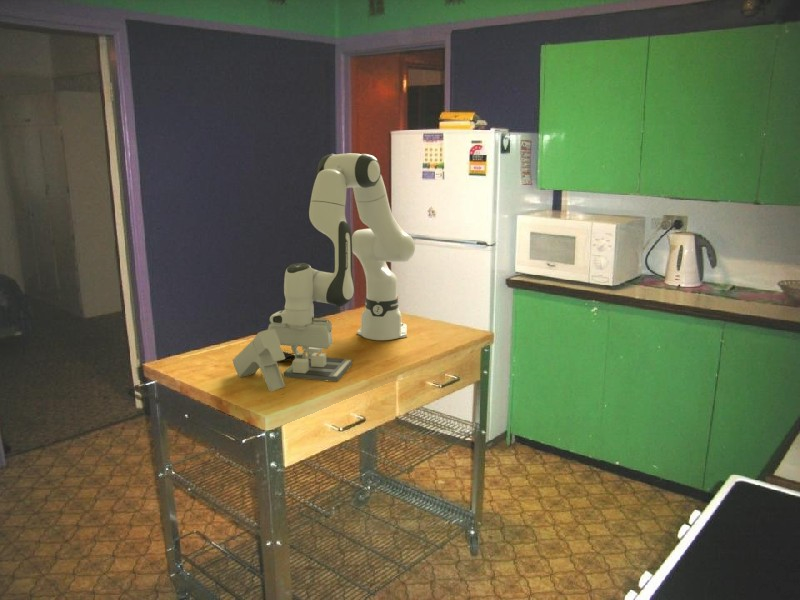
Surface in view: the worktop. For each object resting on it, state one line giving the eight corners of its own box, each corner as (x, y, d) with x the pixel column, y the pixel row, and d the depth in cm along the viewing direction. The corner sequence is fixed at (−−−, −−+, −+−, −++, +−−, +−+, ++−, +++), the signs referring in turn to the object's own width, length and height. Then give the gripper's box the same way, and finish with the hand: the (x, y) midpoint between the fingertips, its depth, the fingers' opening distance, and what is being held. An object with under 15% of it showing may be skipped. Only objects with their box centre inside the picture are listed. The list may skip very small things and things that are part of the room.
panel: (302, 360, 218) (302, 355, 217) (352, 364, 214) (352, 359, 214) (283, 377, 202) (283, 372, 201) (337, 381, 198) (336, 376, 198)
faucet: (249, 355, 207) (275, 326, 193) (268, 402, 203) (297, 376, 189) (231, 359, 203) (256, 330, 189) (250, 408, 198) (278, 381, 185)
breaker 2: (310, 356, 216) (310, 345, 215) (322, 357, 215) (322, 346, 215) (307, 358, 213) (307, 348, 213) (319, 359, 213) (319, 349, 212)
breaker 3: (314, 363, 209) (314, 351, 208) (326, 364, 209) (326, 352, 208) (311, 366, 207) (310, 354, 206) (323, 367, 206) (323, 355, 205)
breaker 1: (296, 369, 204) (296, 358, 203) (308, 370, 203) (308, 359, 202) (292, 372, 201) (292, 361, 200) (305, 373, 200) (305, 362, 199)
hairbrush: (269, 336, 235) (303, 351, 215) (269, 346, 236) (303, 362, 216) (247, 340, 230) (279, 355, 210) (248, 350, 231) (280, 366, 211)
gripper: (334, 316, 206) (335, 358, 209) (272, 312, 210) (274, 353, 213) (328, 321, 200) (329, 365, 203) (264, 317, 204) (266, 359, 207)
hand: (300, 359), depth 208 cm, fingers closed
